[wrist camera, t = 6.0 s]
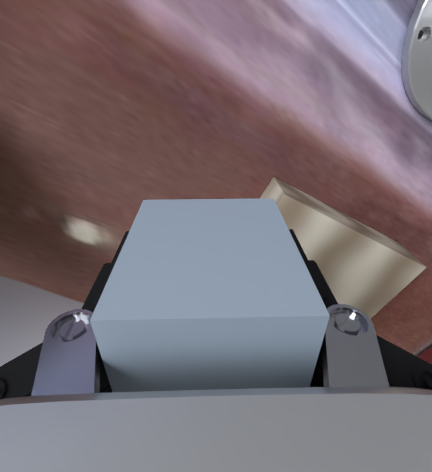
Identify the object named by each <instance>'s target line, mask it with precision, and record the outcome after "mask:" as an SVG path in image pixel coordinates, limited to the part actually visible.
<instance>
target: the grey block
mask: <svg viewBox="0 0 432 472" xmlns="http://www.w3.org/2000/svg"><path fill="white" fill-rule="evenodd" d="M329 317H330V315H329V313H328V311H327V309H326V307H325V304H324V302H323V300H322V298H321V296H320V294H319V292H318V290H317V288H316V286H315V284H314V281H313V279H312V277H311V275H310V273H309V271H308V269H307V267H306V265H305V263H304V261H303V258H302V256H301V254H300V252H299V250H298V248H297V246H296V244H295V242H294V240H293V238H292V235H291V233H290V231H289V229H288V227H287V225H286V223H285V221H284V219H283V217H282V214H281V212H280V210H279V208H278V206H277V204H276V202H275V200H274V199H185V200H143V202H142V205H141V207H140V209H139V211H138V213H137V216H136V218H135V220H134V222H133V225H132V227H131V229H130V231H129V234H128V236H127V238H126V240H125V243H124V245H123V247H122V249H121V252H120V254H119V256H118V258H117V261H116V263H115V265H114V267H113V270H112V272H111V274H110V276H109V279H108V281H107V283H106V285H105V288H104V290H103V292H102V294H101V297H100V299H99V301H98V303H97V306H96V308H95V310H94V312H93V315H92V317H91V319H90V323H91V326H92V329H93V332H94V335H95V338H96V342H97V345H98V348H99V351H100V354H101V357H102V360H103V363H104V367H105V370H106V373H107V376H108V379H109V382H110V385H111V388H112V392H145V391H178V390H216V389H256V388H303V387H310V384H311V380H312V377H313V373H314V370H315V366H316V363H317V359H318V356H319V352H320V349H321V345H322V342H323V338H324V335H325V331H326V328H327V324H328V321H329Z"/></svg>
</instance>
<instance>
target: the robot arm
mask: <svg viewBox="0 0 432 472" xmlns="http://www.w3.org/2000/svg"><path fill="white" fill-rule="evenodd" d="M418 34H419V37H418ZM402 78H403V82H404V86H405V90H406V93H407V95H408V97H409V99H410V101H411V103H412V105H413V106H414V107H415V108H416V109H417V110H418V111H419V112H420V113H421V114H422V115H424V116H425V117H427V118H428V119H430V120H432V0H418V3H417V5H416V7H415V10H414V12H413V14H412V16H411V19H410V22H409V25H408V29H407V32H406V36H405V39H404V45H403V52H402ZM289 231H290V233H291V235H292V238H293V240H294V242H295V244H296V246H297V248H298V250H299V252H300V254H301V256H302V258H303V261H304V263H305V265H306V267H307V269H308V271H309V273H310V275H311V277H312V279H313V281H314V284H315V286H316V288H317V290H318V292H319V294H320V296H321V298H322V300H323V302H324V304H325V307H326V309H327V311H328V313H329V315H330V317H329V321H328V324H327V328H326V331H325V335H324V338H323V342H322V345H321V349H320V352H319V356H318V359H317V363H316V366H315V370H314V373H313V377H312V380H311V384H310V387H303V388H256V389H216V390H178V391H145V392H112V388H111V385H110V382H109V379H108V376H107V373H106V370H105V367H104V363H103V360H102V357H101V354H100V351H99V348H98V345H97V342H96V338H95V335H94V332H93V329H92V326H91V323H90V319H91V317H92V315H93V312H94V310H95V308H96V306H97V303H98V301H99V299H100V297H101V294H102V292H103V290H104V288H105V285H106V283H107V281H108V279H109V276H110V274H111V272H112V270H113V267H114V265H115V263H116V261H117V258H118V256H119V254H120V252H121V249H122V247H123V245H124V243H125V240H126V238H127V236H128V234H129V231H126V233H125V235H124V237H123V239H122V241H121V243H120V246H119V248H118V250H117V252H116V254H115V256H114V258H113V261H112V263H106V264H104V265H103V267H102V269H101V271H100V273H99V275H98V277H97V279H96V281H95V283H94V285H93V287H92V289H91V291H90V293H89V295H88V297H87V299H86V301H85V303H84V305H83V307H82V309H76V310H71V311H68V312H65V313H64V314H62V315H59V316H58V317H57V318H55V319H54V320H53V321H52V322H51V323H50V324H49V326H48V328H47V329H46V332H45V336H44V340H43V343H41V344H39V345H37V346H36V347H34V348H32V349H30V350H29V351H27V352H26V353H23V354H22V355H20V356H18V357H16V358H15V359H13V360H11V361H9V362H8V363H6V364H4V365H3V366H1V367H0V472H432V365H431V364H429V363H428V362H426V361H424V360H422V359H420V358H418V357H416V356H415V355H413V354H411V353H409V352H407V351H405V350H403V349H401V348H400V347H398V346H396V345H394V344H392V343H390V342H388V341H386V340H384V339H383V338H381V337H379V336H377V335H376V332H375V328H374V325H373V323H372V321H371V319H370V318H369V317H368V316H367V314H365V313H364V312H362V311H361V310H359V309H357V308H355V307H353V306H350V305H346V304H338V302H337V301H336V299H335V297H334V295H333V293H332V291H331V289H330V287H329V286H328V284H327V282H326V280H325V278H324V276H323V274H322V273H321V271H320V269H319V267H318V265H317V263H316V262H315V261H314V260H308V259H307V257H306V255H305V253H304V251H303V249H302V247H301V245H300V243H299V241H298V239H297V237H296V235H295V233H294V231H293V229H289Z"/></svg>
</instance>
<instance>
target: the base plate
mask: <svg viewBox="0 0 432 472" xmlns="http://www.w3.org/2000/svg"><path fill="white" fill-rule="evenodd" d="M260 199H274V200H275V202H276V204H277V206H278V208H279V210H280V212H281V214H282V217H283V219H284V221H285V223H286V225H287V227H288V229H293V231H294V233H295V235H296V237H297V239H298V241H299V243H300V245H301V247H302V249H303V251H304V253H305V255H306V257H307V259H308V260H314V261H315V262H316V263H317V265H318V267H319V269H320V271H321V273H322V274H323V276H324V278H325V280H326V282H327V284H328V286H329V287H330V289H331V291H332V293H333V295H334V297H335V299H336V301H337V302H338V304H346V305H350V306H353V307H355V308H357V309H359V310H361V311H362V312H364V313H365V314H367V316H368V317H369V318H370V319H371V318H372V317H373V316H374V315H375V314H376V313H377V312H379V311H380V310H381V309H382V308H383V307H384V306H385V305H386V304H387V303H388V302H389V301H391V300H392V299H393V298H394V297H395V296H396V295H397V294H398V293H399V292H400V291H401V290H403V289H404V288H405V287H406V286H407V285H408V284H409V283H410V282H411V281H412V280H413V279H415V278H416V277H417V276H418V275H419V274H420V273H421V272H422V271H423V270H424V269H425V268H427V267H426V266H424V265H423V264H422V263H421V262H420V261H419V260H418V259H417V258H416V257H415V256H414V255H413V254H411V253H410V252H409V251H408V250H407V249H406V248H405V247H404V246H403V245H402V244H400V243H398V242H396V241H395V240H393V239H391V238H389V237H387V236H385V235H383V234H381V233H379V232H377V231H376V230H374V229H372V228H370V227H368V226H366V225H364V224H362V223H360V222H359V221H357V220H355V219H353V218H351V217H349V216H347V215H345V214H343V213H342V212H340V211H338V210H336V209H334V208H332V207H330V206H328V205H326V204H325V203H323V202H321V201H319V200H317V199H315V198H313V197H311V196H309V195H308V194H306V193H304V192H302V191H300V190H298V189H296V188H294V187H292V186H290V185H289V184H287V183H285V182H283V181H281V180H279V179H277V178H275V177H273V179H272V180H271V182H270V183H269V185H268V186H267V188H266V189H265V191H264V192H263V194H262V195H261V197H260Z"/></svg>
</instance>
